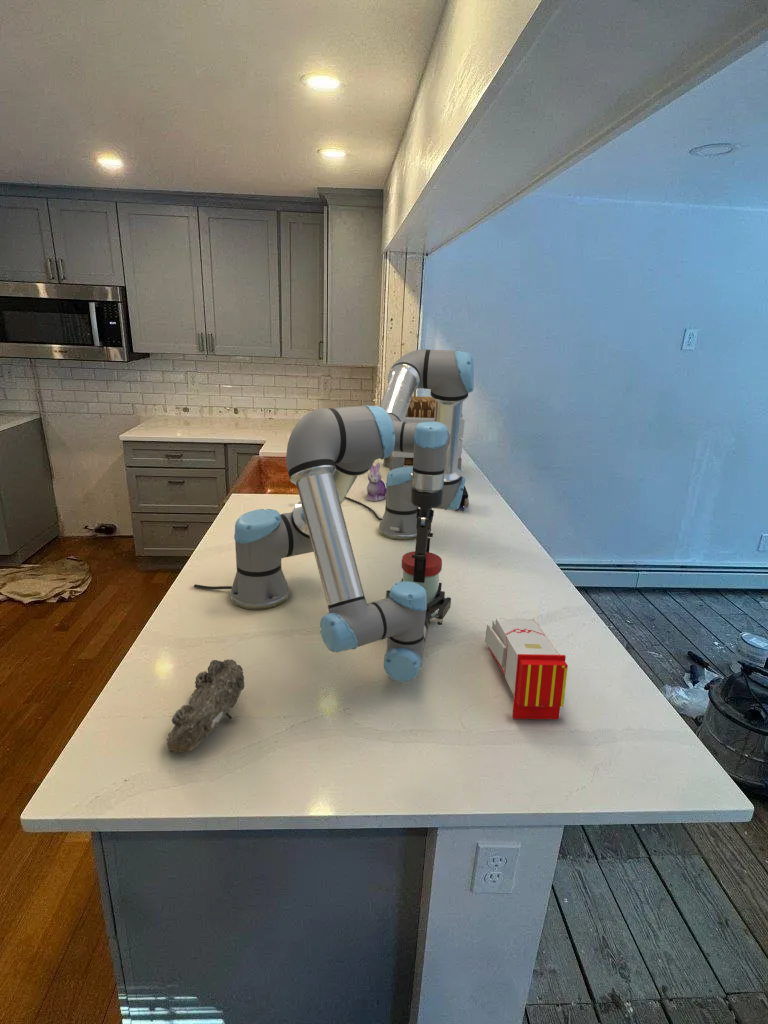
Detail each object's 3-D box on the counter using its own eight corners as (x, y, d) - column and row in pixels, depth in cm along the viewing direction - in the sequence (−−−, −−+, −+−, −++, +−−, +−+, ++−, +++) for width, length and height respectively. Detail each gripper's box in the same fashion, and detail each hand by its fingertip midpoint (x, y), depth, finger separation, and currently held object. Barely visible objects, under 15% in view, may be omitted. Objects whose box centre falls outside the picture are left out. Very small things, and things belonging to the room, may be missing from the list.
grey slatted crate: (382, 463, 289) (386, 382, 275) (445, 464, 293) (451, 384, 279) (390, 482, 257) (394, 392, 243) (460, 483, 261) (468, 394, 247)
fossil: (192, 660, 117) (244, 628, 112) (224, 691, 120) (276, 661, 115) (142, 746, 98) (202, 712, 93) (182, 779, 101) (242, 748, 96)
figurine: (371, 503, 230) (372, 467, 224) (360, 495, 238) (361, 460, 233) (391, 500, 234) (393, 465, 229) (380, 493, 242) (381, 459, 237)
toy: (531, 603, 136) (576, 661, 106) (526, 655, 139) (569, 725, 109) (481, 602, 135) (512, 660, 106) (477, 654, 138) (507, 724, 109)
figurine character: (468, 516, 224) (463, 500, 237) (471, 498, 221) (465, 483, 234) (452, 515, 224) (447, 499, 237) (453, 498, 220) (449, 482, 234)
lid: (404, 577, 137) (405, 568, 136) (398, 559, 146) (399, 551, 145) (445, 576, 138) (446, 567, 137) (436, 559, 148) (437, 550, 147)
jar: (441, 621, 145) (446, 566, 140) (410, 628, 141) (414, 572, 136) (424, 605, 153) (428, 552, 147) (394, 611, 149) (397, 557, 144)
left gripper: (363, 637, 131) (380, 592, 152) (457, 650, 128) (461, 602, 149) (364, 609, 128) (381, 567, 149) (460, 621, 125) (464, 577, 146)
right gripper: (416, 473, 147) (411, 550, 154) (405, 502, 125) (400, 591, 132) (445, 476, 146) (438, 553, 153) (439, 505, 124) (432, 594, 131)
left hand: (421, 585), depth 149 cm, fingers closed on jar, 9 cm apart
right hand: (421, 571), depth 143 cm, fingers open, 11 cm apart
